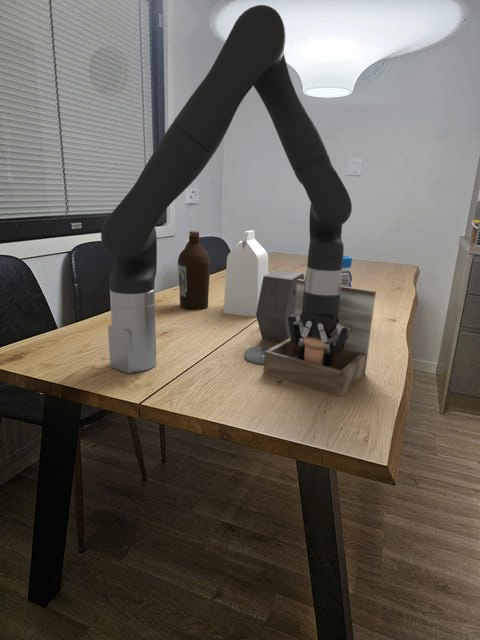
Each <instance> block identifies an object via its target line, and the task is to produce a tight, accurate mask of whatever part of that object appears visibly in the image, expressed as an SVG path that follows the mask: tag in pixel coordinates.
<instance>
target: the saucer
mask: <svg viewBox="0 0 480 640" xmlns="http://www.w3.org/2000/svg"><path fill="white" fill-rule="evenodd" d="M270 348H271V347H263V346H258V347H257V346H255V347H250V348H248V349H246V350H244V352H243V357H244V358H243V359H245V360H246V361H248V362H249V363H250V362H251V363H254V364H257V365H258V364H259V365H264V352H265V351H267V350H269V349H270Z"/></svg>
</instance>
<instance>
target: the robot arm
mask: <svg viewBox="0 0 480 640" xmlns="http://www.w3.org/2000/svg"><path fill="white" fill-rule="evenodd" d="M286 41H287V40H286V28H285V24H284V21H283V19H282V16H281V15H280V13H278V11H277V10H276V9H275V8H273V7H271V6H269V5H266V4H265V5H264V4H258V5H254V6H251V7H249V8H248V9H246V10H244V11H243V12H242V14H240V15H239V16H238V18H237V19H236V20H235V23H234V25H233V26H232V28H231V30H230V32H229V34H228V36H227V38H226V40H225V42H224V44H223V46H222V48H221V49H220V51H219V53H218V55H217V57H216V59H215V60H214V63H213V65H212V66H211V68H210V70H208V73H207V75H205V77H204V78H203V80H202V81H201V82H200V84H199V85H198V86H197V87H196V89H195V90H194V92H193V93H192V94H191V95H190V97H189V98H188V100H187V102H186V103H185V104H184V105H183V107H182V108H181V110H180V111H179V112H178V114H177V115H176V117H174V120H172V123H171V124H170V126H169V128H167V131H165V133H164V135H163V136H162V138H161V140H160V141H159V143H158V145H157V147H156V148H155V150H154V152H153V153H152V155H151V156H150V158H149V159H148V161H147V163H146V165H145V166H144V167H143V170H142V171H141V173H140V174H139V176H138V179H137V180H136V182H135V183H134V185H133V186H132V187H131V189H130V190H129V191H128V193H127V194H126V195H125V196H124V197H123V199H122V200H121V201H120V203H119V204H118V205H117V206H116V207H115V208H114V209H113V211H112V212H111V213H109V214H110V215H108V216H107V218H106V219H105V221H104V223H103V225H102V227H101V232H100V238H101V239H100V240H101V243H102V247H103V248H104V250H105V252H106V253H107V254H108V255H109V256H111V257H112V258H114V259H113V268H112V271H111V273H110V276H109V282H108V283H109V296H110V300H109V301H110V317H111V318H110V321H111V324H109V325H108V326H107V331H108V332H107V333H108V334H107V335H108V337H107V338H108V351H109V366H110V367H111V368H113V369H116V370H118V371H121V372H123V373H126V374H132V373H137V372H145V371H147V370H150V369H152V368H154V367H155V366H156V365H157V340H156V338H157V337H156V336H157V335H156V332H157V331H156V299H155V298H156V295H155V294H156V293H155V288H156V287H155V281H156V275H157V269H158V268H157V265H158V263H157V262H158V261H157V259H158V252H157V251H158V239H157V236H158V235H157V230H156V226H157V224H158V222H159V220H160V218H161V217H162V216H163V214H164V213H165V211H166V210H167V209H168V207H169V206H170V205H171V204H172V203H173V202H174V201H175V200H176V199H178V197H179V196H180V195H181V194H182V193H184V192H185V190H187V188H188V187H189V186H190V185H191V184H192V183H193V182H194V181H195V180H196V179H197V178H198V176H199V175H201V173H202V172H203V170H204V169H205V167H206V166H207V164H208V163H210V160H211V159H212V157H213V155H215V153H216V151H217V150H218V148H219V146H220V145H221V143H222V142H223V139H224V138H225V135H226V133H227V131H228V129H229V127H230V126H231V123H232V121H233V119H234V117H235V114H236V112H237V111H238V109H239V107H240V105H241V103H242V101H243V100H244V99H245V97H246V95H247V94H248V93H249V91H251V89H252V88H254V89H255V90H256V93H257V94H258V95H259V97H260V99H261V101H262V103H263V105H264V107H265V108H266V110H267V112H268V115H269V117H270V119H271V121H272V124H273V126H274V128H275V131H276V134H277V136H278V138H279V141H280V143H281V145H282V148H283V151H284V153H285V155H286V157H287V159H288V162H289V164H290V167H291V169H292V170H293V173H294V174H295V175H294V176H295V177H296V179H297V180H298V181H299V183H300V184H301V185H302V186H303V188H304V190H305V193H306V195H307V197H308V199H309V202H310V207H309V222H308V223H309V225H308V226H309V247H308V255H307V261H306V263H307V264H306V271H305V275H304V280H305V282H304V293H303V304H302V313H301V314H300V315H297V314H294V315H291V316H289V317H288V322H289V329H290V336H291V341H292V342H293V343H296V344H298V346H299V351H298V358H297V359H301V360H304V351H305V345H304V344H303V338H304V337H305V338H307V337H308V336H310V335H311V336H317V337H319V338H321V340H322V342H324V343H325V344H326V349H325V353H324V358H323V366H327V367H331V365H332V361H333V353H336V354H337V353H339V352H340V351H341V350H343V348H344V345H345V343H346V340H347V338H348V335H349V333H350V331H351V327H350V326H349V325H347V326H345V325H343V324H341V323H339V320H338V309H339V300H340V292H341V288H342V286H341V283H342V263H343V255H344V251H345V249H344V243H343V240H342V230H343V225H345V223H346V222H347V221H348V219H349V218H351V214H352V210H353V205H352V199H351V197H350V195H349V191H348V190H347V188H346V187H345V185H344V183H343V181H342V179H341V178H340V176H339V174H338V172H337V171H336V169H335V167H334V166H333V164H332V161H331V158H330V155H329V153H328V151H327V148H326V146H325V144H324V141H323V139H322V137H321V135H320V132H319V130H318V128H317V126H316V124H315V121H313V119H312V117H311V116H310V114H309V113H308V111H307V109H306V107H305V106H304V104H303V103H302V100H301V99H300V97H299V95H298V93H297V91H296V88H295V86H294V83H293V81H292V78H291V75H290V72H289V67H288V64H287V60H286V57H285V47H286ZM300 320H301V322H302V324H303V326H304V330H303V333H302V335H300V328H299V324H300ZM335 328H337V329H338V334H339V337H338V340H337V342H336V345H335V346H334V342H333V340H334V337H333V333H332V331H333V330H334V329H335Z"/></svg>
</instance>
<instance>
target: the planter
mask: <svg viewBox="0 0 480 640" xmlns="http://www.w3.org/2000/svg"><path fill="white" fill-rule="evenodd" d="M298 279H302V280H305V275H304V272H296V271H287V270H274V271H272V272H269V273H268V274H267V275H265V276H264V277H263V281H262V286H261V291H260V297H259V302H258V307H257V312H256V317H255V318H256V320H257V324H258V329H259V331H260V336H261V339H262V340H266V341H267V340H268V341H272V342H273V341H274V342H278V343H281V342H283V341H285V340H287V339H289V338H291V336H290V329H289V322H288V317H289V316H291V315H294V314H295V302H296V289H297V280H298Z"/></svg>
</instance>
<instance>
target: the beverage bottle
mask: <svg viewBox="0 0 480 640" xmlns="http://www.w3.org/2000/svg"><path fill="white" fill-rule="evenodd" d="M352 261H353V258H352V257H351V256H349V255H345V254H343V263H342V283H341V286H347V287H353V286H352V284H351V283H352V282H353V276H352V273H351V271H350V269H351V267H352Z"/></svg>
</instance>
